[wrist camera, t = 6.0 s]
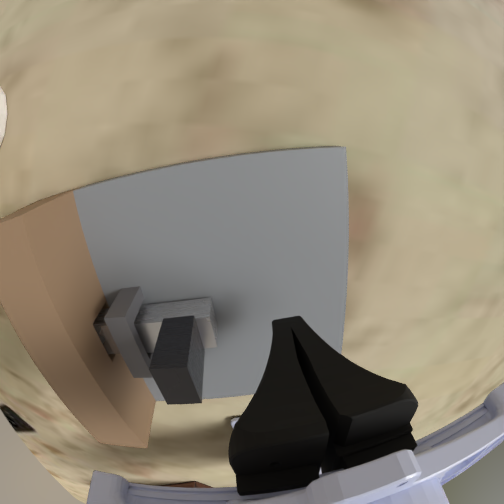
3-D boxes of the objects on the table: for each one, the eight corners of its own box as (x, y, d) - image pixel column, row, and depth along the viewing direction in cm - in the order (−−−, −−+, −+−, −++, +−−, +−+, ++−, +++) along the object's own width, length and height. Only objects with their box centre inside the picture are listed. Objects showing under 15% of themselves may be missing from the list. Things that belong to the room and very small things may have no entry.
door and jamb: (334, 145, 14) (395, 153, 8) (332, 364, 20) (356, 424, 15) (37, 201, 13) (-25, 233, 8) (116, 386, 20) (99, 442, 14)
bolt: (210, 294, 15) (204, 366, 10) (218, 329, 16) (217, 401, 11) (61, 309, 14) (22, 363, 9) (76, 338, 15) (45, 394, 10)
